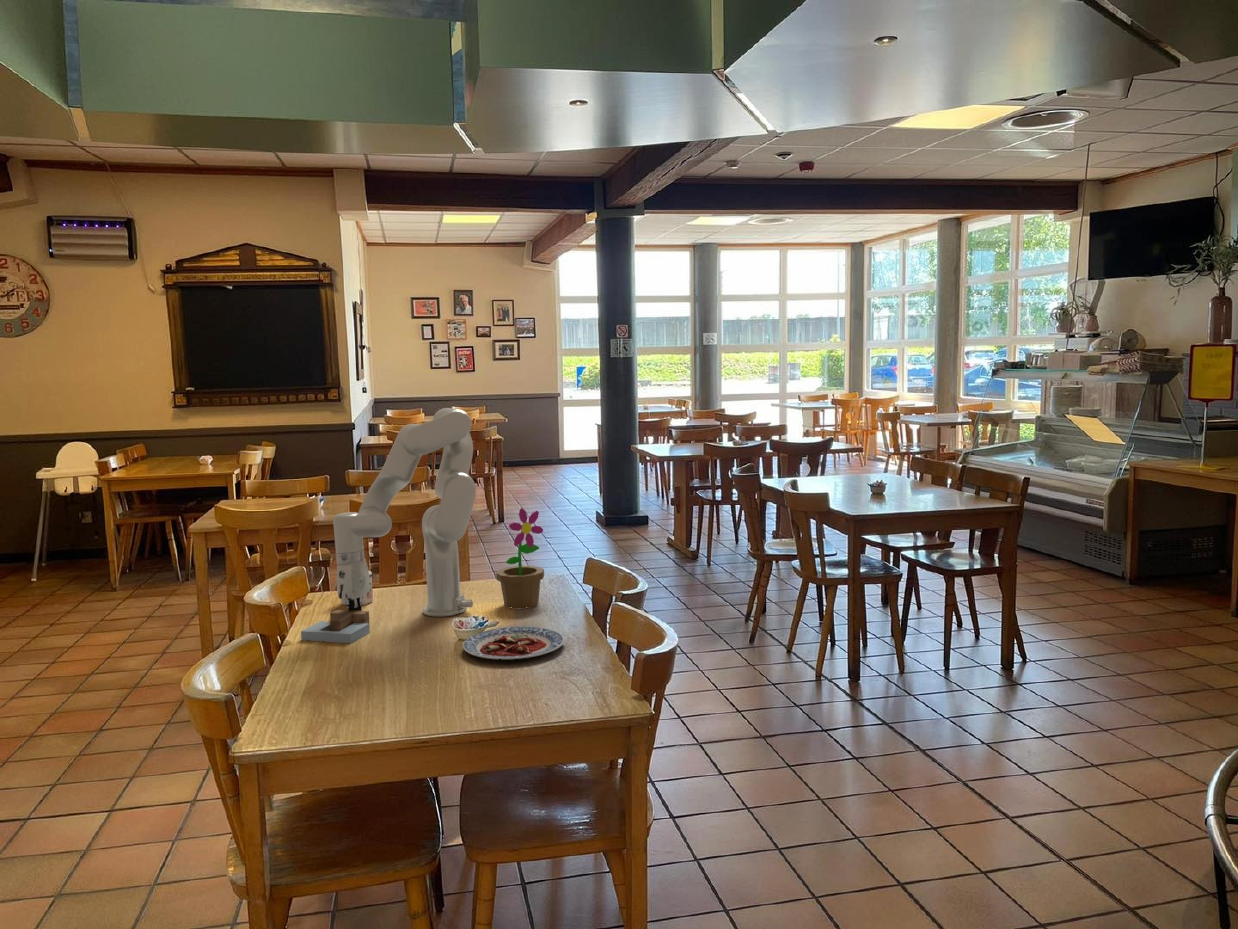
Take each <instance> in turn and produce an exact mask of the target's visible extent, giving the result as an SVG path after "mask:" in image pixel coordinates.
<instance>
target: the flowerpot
mask: <svg viewBox="0 0 1238 929" xmlns="http://www.w3.org/2000/svg"><path fill="white" fill-rule="evenodd" d="M539 513H540V512H539V511H538V510H535V511H533V512H532V513H531V515H529V517H528V514H527V511H525V509H524V508H523V507H521V508H520V509H519V513H518V516H519V520H520V522H522V524H521V523H520V522H511V523H509V525H508V528H509V529H511V530H512V531H514V532H515V531H516V532H519V533H518V534H516V536H515V538H514V541H513V545H514V546H515V547H517V546H518V548H517V556H511V557H509V558H508V559H507V560H506V564H508V565H513V566H508V567H507V566H506V567H504V568H501V569H498V570H497V572H496V573H495V574H496V576H495V577H496V581H498V582H500V588H501V594H502V598H503V605H504V606H505V605H506V606H507V607H512V608H526V607H532V608H534V607H536V606H535V605H537V604H538V605H539V600H540V591H541V580H543V579H544V577H545V569H544V568H542V567H540V566H535V565H523V564H522V554H523V553H524V554H526V555H527V554H531V553H534V552H536V551H538V550H539V549H540V546H538V545H537V544H534V542H535V541H534V538H533V535H532V534H537V535H540V534H542V533H544V528H542V527H541V526H539V525H533V524H535V523H536V521H537V520H538V518H539ZM527 521H528V522H527ZM532 525H533V526H532ZM520 531H521V532H520ZM531 532H532V534H531ZM524 539H525V542H526V543H524V544H522V543H523V541H524ZM517 563H518V565H515V564H517ZM514 565H515V566H514ZM538 605H537V606H538ZM506 606H505V607H506ZM533 606H534V607H533ZM507 607H506V608H507ZM512 608H511V609H512ZM526 609H527V608H526Z"/></svg>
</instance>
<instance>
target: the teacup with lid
mask: <svg viewBox="0 0 1238 929" xmlns="http://www.w3.org/2000/svg"><path fill="white" fill-rule="evenodd" d="M368 571H369V578H370V587H371V589H370V591H369V592H368V593H366V595H365V596H364V597H363V599H362V605H361V606H365V605H368V603H369V604H371V603H373V601H374V594H373V577H372V576H373V572H372V571H371V570H368ZM370 602H371V603H370Z"/></svg>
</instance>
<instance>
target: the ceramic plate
mask: <svg viewBox="0 0 1238 929" xmlns="http://www.w3.org/2000/svg"><path fill="white" fill-rule="evenodd" d="M477 634H478V633H477ZM564 643H565V637H564V635H562V634H561V633H560V632H558V631H556V630H553V629H549V628H545V627H539V626H509V627H508V626H507V627H506V626H505V627H499V628H493V629H488V630H485V631H482V632H479V634H478V635H475V634H473V635H471V636H469V637H467V638H466V639H465V640H464V642H463V643H462V647H463V648H462V649H463V651H465V652H466V653H468V654H470V655H471V656H473V657H474V656H475V657H479V658H482V659H488V660H489V659H491V660H499V659H501V660H500V661H514V660H515V659H518V660H524V658H525V659H529V658H530V659H531V658H534V657H539V656H542V655H547V654H548V653H552V652H554V651H556V650H558V649H559V648H561V647H562V646H563V645H564ZM515 661H516V660H515Z"/></svg>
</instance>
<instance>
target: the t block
mask: <svg viewBox="0 0 1238 929" xmlns="http://www.w3.org/2000/svg"><path fill="white" fill-rule="evenodd" d="M329 616H330V620H329V621H330V631H338V632H339V631H341V630H342V629H344V628H346V627H348V626H350V625H352V624H353V623H366V624H369V627H370V612H369V610H362V611H350V610H349V609H347V610H346V609H345V610H343V609H335V610H333V611H332V612H330V613H329ZM370 628H371V627H370Z"/></svg>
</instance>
